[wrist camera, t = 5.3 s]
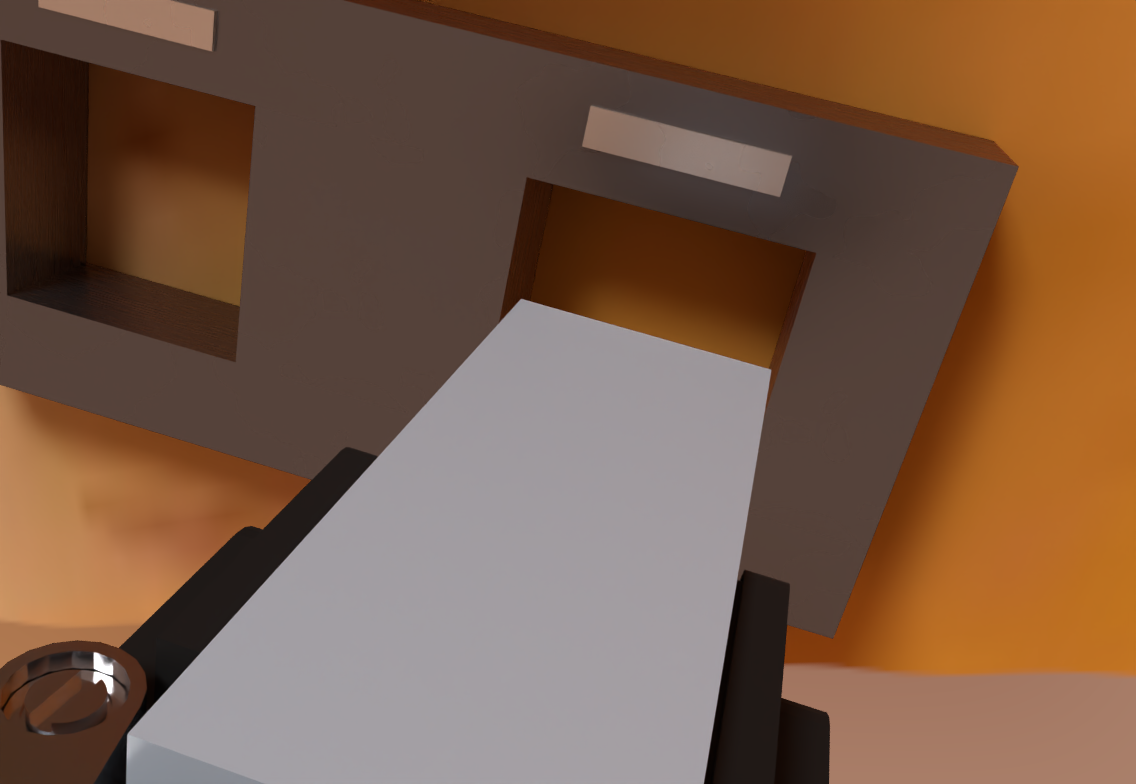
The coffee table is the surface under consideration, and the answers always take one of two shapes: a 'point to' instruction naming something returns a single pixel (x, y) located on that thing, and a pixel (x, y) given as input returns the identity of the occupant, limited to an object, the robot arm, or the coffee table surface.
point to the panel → (479, 238)
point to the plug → (498, 584)
